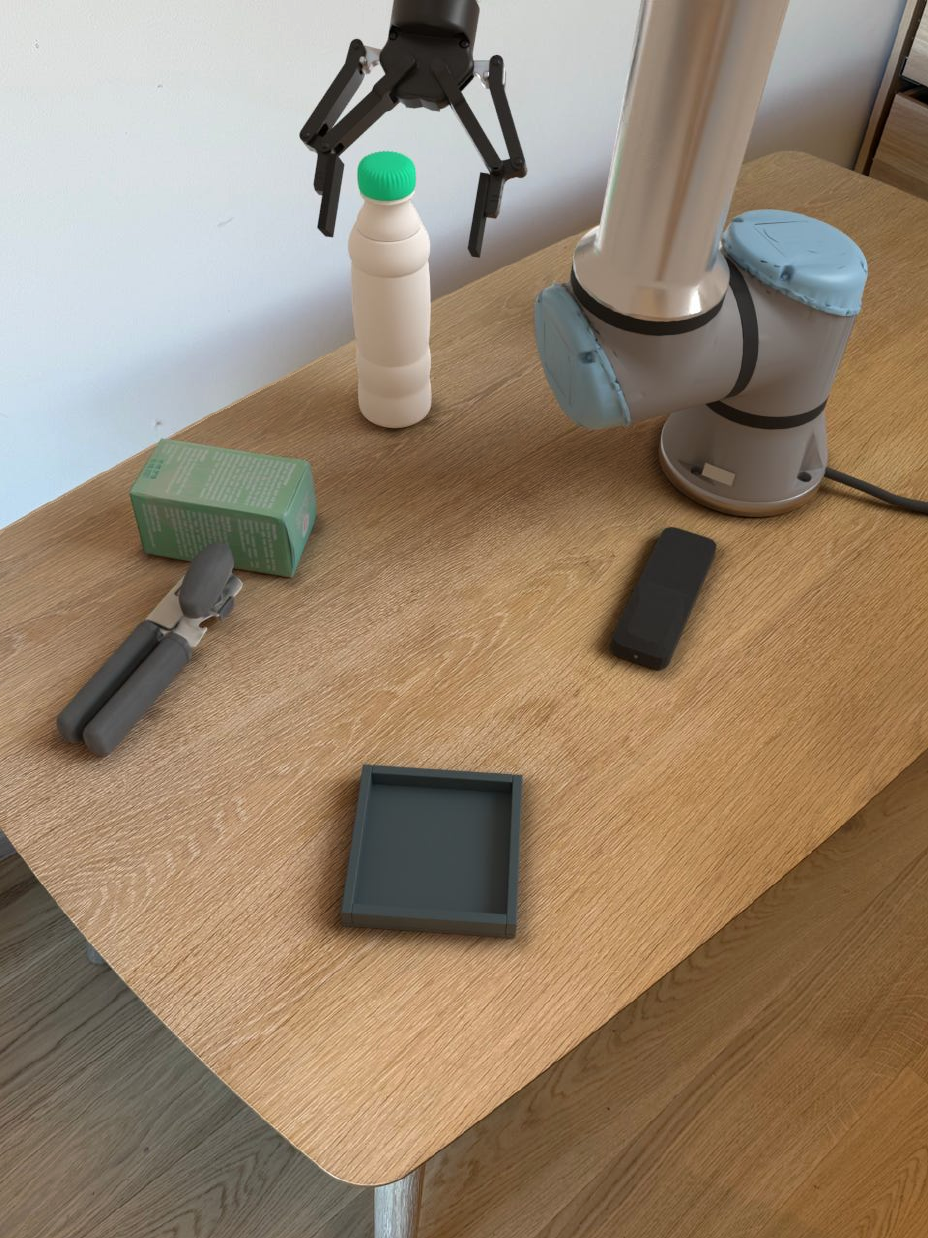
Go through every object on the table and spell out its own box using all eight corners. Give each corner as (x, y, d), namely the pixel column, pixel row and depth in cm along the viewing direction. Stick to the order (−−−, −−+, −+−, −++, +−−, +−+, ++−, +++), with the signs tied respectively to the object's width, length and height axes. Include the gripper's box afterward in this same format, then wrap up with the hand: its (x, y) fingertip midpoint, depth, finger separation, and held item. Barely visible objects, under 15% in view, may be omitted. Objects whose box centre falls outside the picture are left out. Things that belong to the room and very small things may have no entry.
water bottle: (405, 441, 104) (397, 192, 85) (344, 414, 106) (324, 166, 87) (445, 401, 108) (446, 155, 89) (386, 377, 110) (375, 132, 91)
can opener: (203, 573, 93) (190, 519, 88) (254, 594, 91) (244, 540, 86) (54, 741, 81) (30, 689, 77) (110, 767, 80) (89, 716, 75)
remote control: (662, 537, 97) (606, 652, 88) (665, 522, 96) (608, 638, 86) (716, 554, 96) (665, 673, 86) (720, 539, 94) (668, 658, 85)
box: (297, 580, 92) (287, 515, 87) (143, 558, 94) (124, 492, 88) (320, 521, 97) (312, 456, 91) (174, 500, 98) (158, 435, 93)
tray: (521, 789, 79) (522, 774, 78) (515, 938, 72) (516, 925, 70) (364, 778, 80) (362, 763, 78) (342, 926, 72) (340, 912, 71)
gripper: (581, 31, 98) (540, 272, 99) (313, 1, 101) (277, 236, 103) (578, -12, 90) (533, 250, 92) (288, -42, 93) (250, 211, 95)
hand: (398, 243), depth 97 cm, fingers open, 13 cm apart
